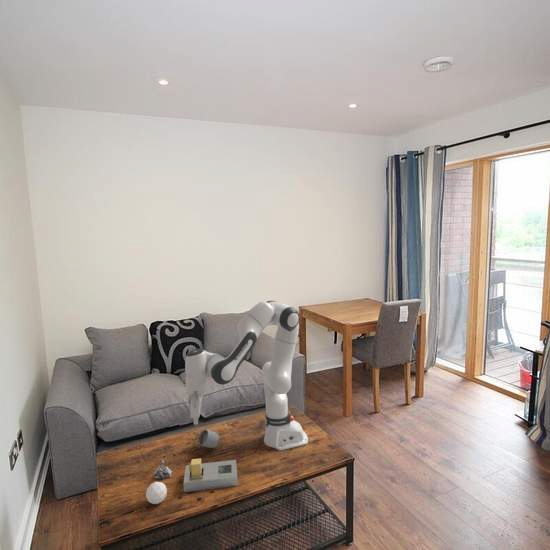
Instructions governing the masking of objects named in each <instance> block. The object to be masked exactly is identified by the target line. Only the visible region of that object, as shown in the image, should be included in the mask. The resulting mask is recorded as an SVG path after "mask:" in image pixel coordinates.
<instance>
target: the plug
mask: <svg viewBox="0 0 550 550" xmlns="http://www.w3.org/2000/svg"><path fill="white" fill-rule="evenodd" d="M201 464H202V458H193V459H191V462H189V464H188V465H189V471H191V474H192V477H198V476H202V466H201Z"/></svg>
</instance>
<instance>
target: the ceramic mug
mask: <svg viewBox="0 0 550 550" xmlns="http://www.w3.org/2000/svg"><path fill="white" fill-rule="evenodd" d="M197 441H198V444H199V446H201V447H205V448H209V449H215V448H216V447H218V445H219V443H220V434H219V433H217V432H215V431H212V430H210V429H207V428H204V429H203V430H201V431H200V433H199V435H198V439H197Z"/></svg>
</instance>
